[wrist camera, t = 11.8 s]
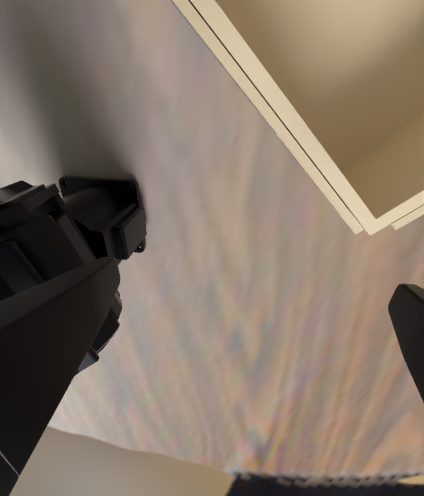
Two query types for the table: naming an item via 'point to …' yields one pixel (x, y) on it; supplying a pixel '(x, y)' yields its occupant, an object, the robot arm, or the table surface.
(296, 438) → the table surface
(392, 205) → the carton
